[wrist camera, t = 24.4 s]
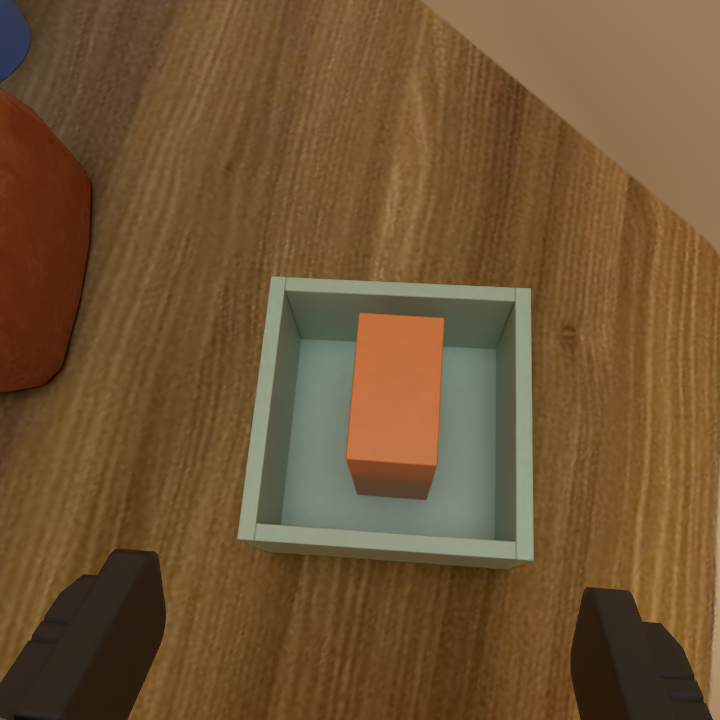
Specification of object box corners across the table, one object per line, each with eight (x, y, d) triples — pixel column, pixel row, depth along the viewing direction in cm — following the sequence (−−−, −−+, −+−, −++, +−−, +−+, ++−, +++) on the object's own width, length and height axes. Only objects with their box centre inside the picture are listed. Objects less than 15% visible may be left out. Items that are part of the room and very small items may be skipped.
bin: (507, 341, 43) (531, 288, 35) (507, 569, 38) (534, 560, 31) (291, 330, 43) (271, 276, 36) (265, 551, 39) (236, 539, 32)
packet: (433, 383, 41) (444, 317, 32) (426, 500, 39) (437, 466, 29) (366, 378, 42) (358, 311, 32) (356, 494, 39) (345, 459, 30)
